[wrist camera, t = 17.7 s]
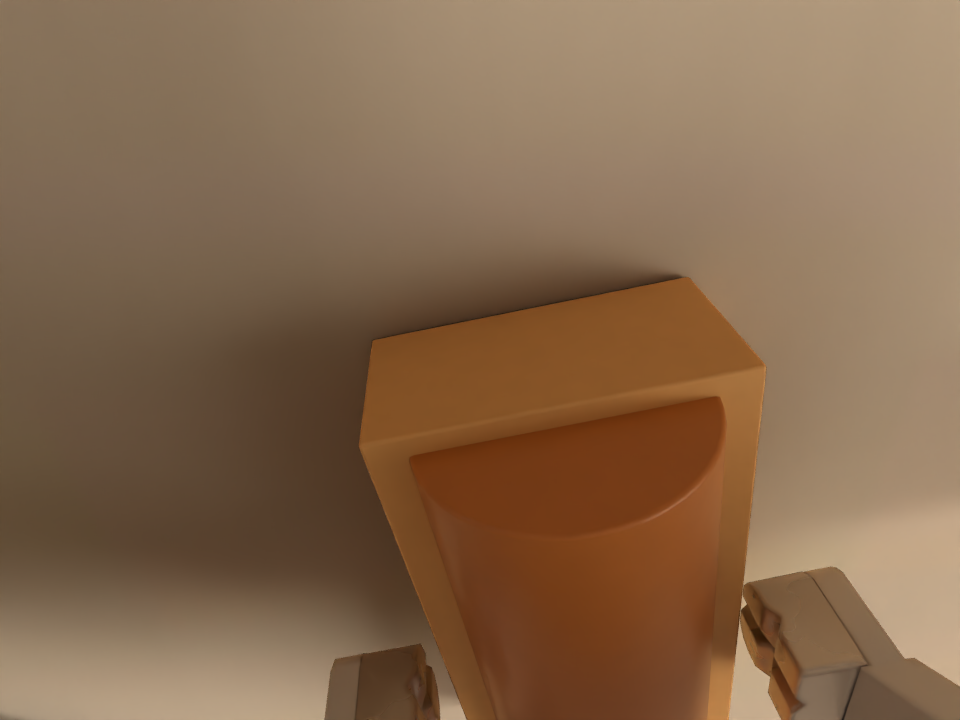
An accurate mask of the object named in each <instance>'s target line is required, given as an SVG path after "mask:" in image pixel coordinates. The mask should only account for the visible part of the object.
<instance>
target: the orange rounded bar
mask: <svg viewBox="0 0 960 720" xmlns="http://www.w3.org/2000/svg"><path fill="white" fill-rule="evenodd" d="M765 377H766V365H765V364H764V362H763V361H762V360H761V359H760V358H759V357H758V356H757V354H756V353H755V352H754V351H753V350H752V349H751V348H750V346H749V345H748V344H747V343H746V342H745V341H744V340H743V338H742V337H741V336H740V335H739V334H738V333H737V332H736V330H735V329H734V328H733V327H732V326H731V325H730V324H729V322H728V321H727V320H726V319H725V318H724V317H723V316H722V314H721V313H720V312H719V311H718V310H717V309H716V308H715V306H714V305H713V304H712V303H711V302H710V301H709V300H708V298H707V297H706V296H705V295H704V294H703V293H702V292H701V290H700V289H699V288H698V287H697V286H696V285H695V283H694V282H693V281H692V280H691V279H690V278H689V277H685V278H680V279H675V280H670V281H665V282H660V283H655V284H650V285H645V286H640V287H635V288H630V289H625V290H620V291H615V292H610V293H605V294H600V295H595V296H590V297H585V298H580V299H575V300H570V301H565V302H560V303H555V304H550V305H545V306H540V307H535V308H530V309H525V310H520V311H516V312H511V313H506V314H501V315H496V316H491V317H486V318H481V319H476V320H471V321H466V322H461V323H456V324H451V325H446V326H441V327H436V328H431V329H426V330H421V331H416V332H411V333H406V334H401V335H396V336H391V337H386V338H381V339H376V340H373V341H372V346H371V354H370V362H369V370H368V378H367V385H366V393H365V401H364V409H363V417H362V425H361V433H360V441H359V449H360V451H361V454H362V456H363V459H364V461H365V464H366V466H367V469H368V471H369V474H370V476H371V479H372V481H373V484H374V486H375V489H376V491H377V494H378V497H379V499H380V502H381V504H382V507H383V509H384V512H385V514H386V517H387V519H388V522H389V524H390V527H391V529H392V532H393V534H394V537H395V539H396V542H397V545H398V547H399V550H400V552H401V555H402V557H403V560H404V562H405V565H406V567H407V570H408V572H409V575H410V577H411V580H412V582H413V585H414V587H415V590H416V593H417V595H418V598H419V600H420V603H421V605H422V608H423V610H424V613H425V615H426V618H427V620H428V623H429V625H430V628H431V630H432V633H433V635H434V638H435V640H436V643H437V646H438V648H439V651H440V653H441V656H442V658H443V661H444V663H445V666H446V668H447V671H448V673H449V676H450V678H451V681H452V683H453V686H454V688H455V691H456V694H457V696H458V699H459V701H460V704H461V706H462V709H463V711H464V714H465V716H466V719H467V720H729V710H730V701H731V692H732V683H733V673H734V664H735V655H736V646H737V636H738V627H739V618H740V609H741V599H742V590H743V581H744V572H745V562H746V553H747V544H748V535H749V525H750V516H751V507H752V498H753V488H754V479H755V470H756V461H757V451H758V442H759V433H760V424H761V414H762V405H763V396H764V387H765Z"/></svg>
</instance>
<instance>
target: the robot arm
mask: <svg viewBox="0 0 960 720" xmlns="http://www.w3.org/2000/svg"><path fill="white" fill-rule="evenodd" d="M743 597H744V599H745V601H746V603H747V605H746V606H745V607H744V608H743V609H742V610H741V616H740V624H741V629H742V634H743V638H744V641H745V644H746V646H747V649H748V651H749V654H750V656H751V658H752V660H753V662H754V664H755V666H756V667H758V668H759V669H760V670H762V671H763V672H764V673H766V674H767V675H768V676H770V683H769V689H768V693H769V695H770V697H771V699H772V701H773V704H774V706H775V708H776V710H777V712H778V714H779V716H780V718H781V720H960V686H958V685H956V684H955V683H953V682H952V681H950V680H949V679H947V678H945V677H944V676H942V675H941V674H939V673H937V672H936V671H934V670H933V669H931V668H930V667H928V666H926V665H925V664H923V663H922V662H920V661H918V660H917V659H915V658H909V659H904V657H903V656H902V654H901V653H900V652H899V650H898V649H897V647H896V646H895V645H894V643H893V642H892V640H891V639H890V638H889V636H888V635H887V633H886V632H885V631H884V629H883V628H882V626H881V625H880V624H879V622H878V621H877V619H876V618H875V617H874V615H873V614H872V612H871V611H870V610H869V608H868V607H867V605H866V604H865V603H864V601H863V600H862V598H861V597H860V596H859V594H858V593H857V591H856V590H855V589H854V587H853V586H852V584H851V583H850V581H849V580H848V579H847V577H846V576H845V574H844V573H843V572H842V571H840V570H839V569H838V568H836V567H826V568H820V569H815V570H810V571H805V572H797V573H792V574H788V575H783V576H778V577H773V578H768V579H763V580H758V581H754V582H749V583H746V584H745V585H744V588H743ZM324 720H440V705H439V697H438V688H437V683H436V679H435V675H434V673H433V670H432V667H430V666H428V665H426V653H425V651H424V649H423V647H422V645H421V643H420V644H415V645H410V646H404V647H399V648H393V649H388V650H383V651H377V652H372V653H363V654H358V655H353V656H348V657H343V658H338V659H335V661H334V663H333V666H332V669H331V672H330V680H329V688H328V696H327V704H326V711H325V719H324Z"/></svg>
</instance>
